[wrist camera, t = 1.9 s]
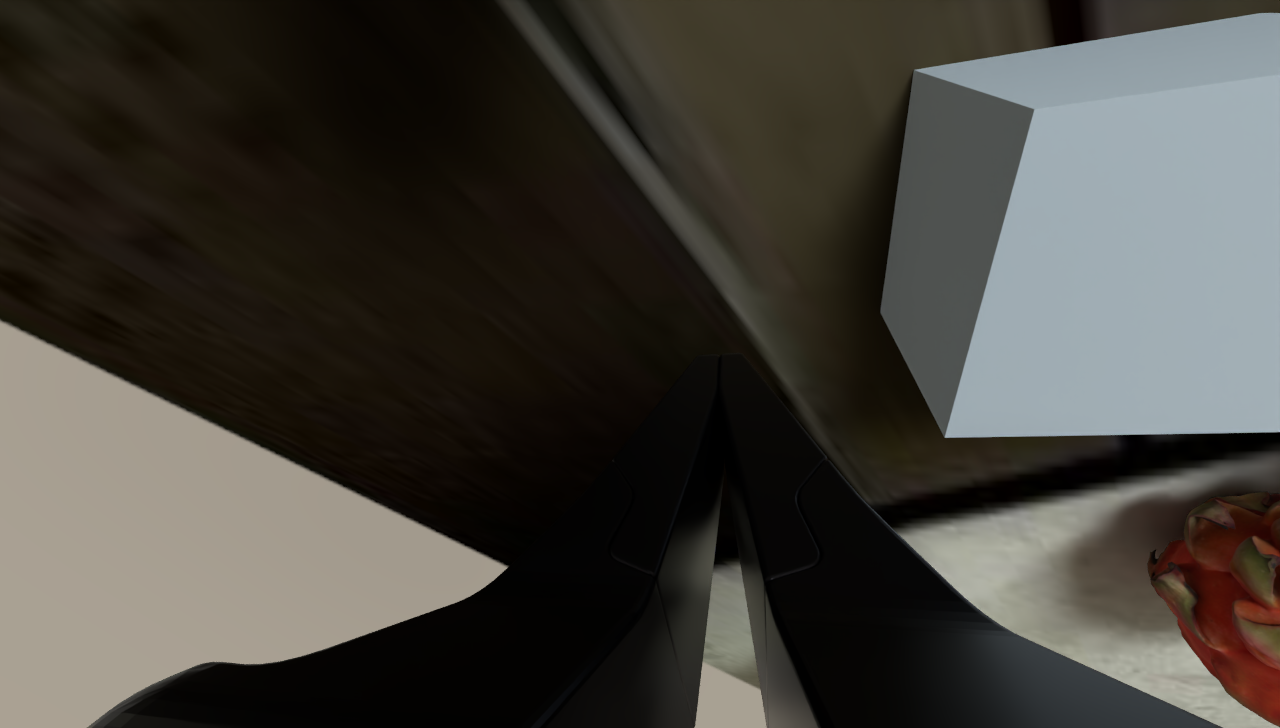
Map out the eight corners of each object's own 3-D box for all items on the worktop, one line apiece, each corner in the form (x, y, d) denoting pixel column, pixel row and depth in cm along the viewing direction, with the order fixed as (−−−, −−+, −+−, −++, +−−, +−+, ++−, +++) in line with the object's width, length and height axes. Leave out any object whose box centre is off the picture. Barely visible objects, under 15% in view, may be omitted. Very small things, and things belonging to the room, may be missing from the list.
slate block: (1127, 293, 15) (1323, 431, 10) (879, 310, 16) (944, 437, 11) (1257, 13, 11) (1692, 15, 6) (912, 69, 12) (1034, 109, 7)
